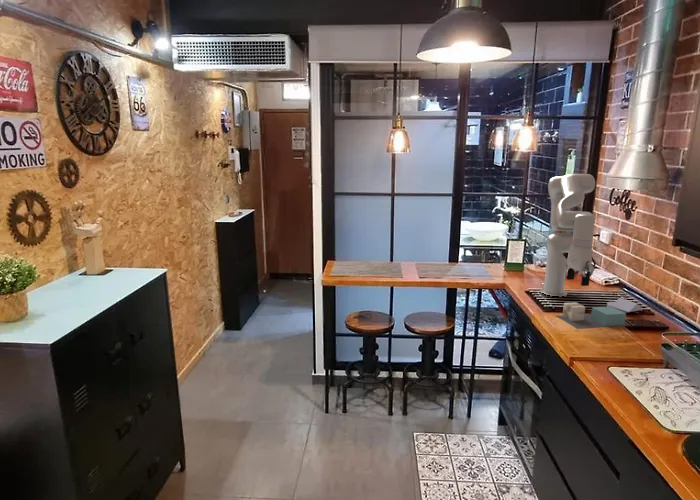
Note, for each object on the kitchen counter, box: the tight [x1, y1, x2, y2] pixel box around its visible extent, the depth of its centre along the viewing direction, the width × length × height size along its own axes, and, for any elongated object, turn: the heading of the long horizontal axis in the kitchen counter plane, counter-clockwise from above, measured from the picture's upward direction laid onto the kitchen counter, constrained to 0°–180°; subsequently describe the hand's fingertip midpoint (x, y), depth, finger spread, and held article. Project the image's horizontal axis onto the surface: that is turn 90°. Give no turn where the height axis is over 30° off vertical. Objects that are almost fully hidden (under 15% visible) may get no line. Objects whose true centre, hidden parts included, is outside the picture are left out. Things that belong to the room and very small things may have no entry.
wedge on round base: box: [606, 297, 644, 314], centre depth 208 cm, size 9×7×13 cm
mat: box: [556, 313, 630, 330], centre depth 197 cm, size 15×24×1 cm, turn 99°
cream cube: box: [562, 301, 586, 321], centre depth 199 cm, size 6×6×6 cm
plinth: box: [590, 306, 627, 326], centre depth 195 cm, size 9×9×5 cm
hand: (577, 282), depth 196 cm, fingers open, 9 cm apart
